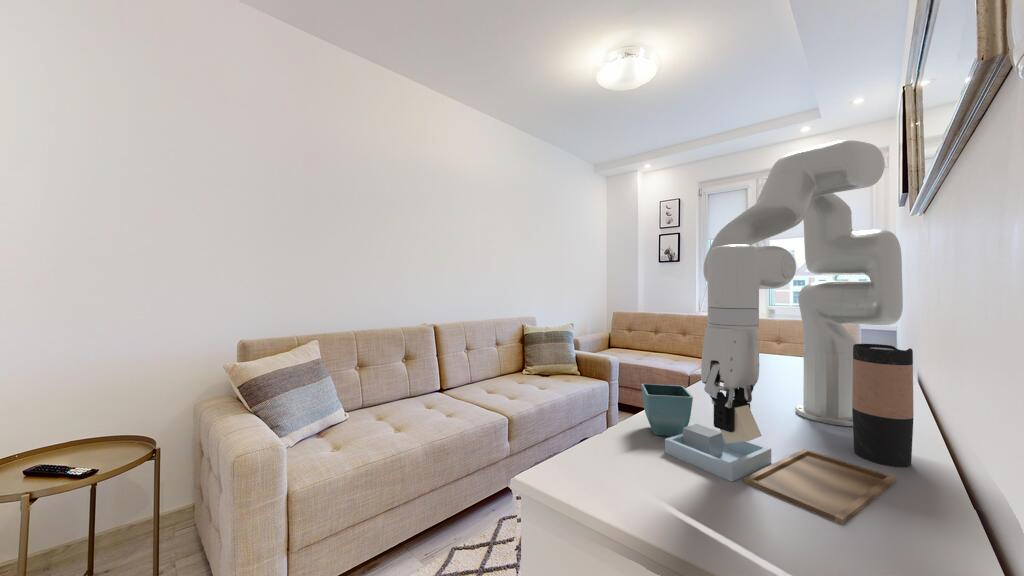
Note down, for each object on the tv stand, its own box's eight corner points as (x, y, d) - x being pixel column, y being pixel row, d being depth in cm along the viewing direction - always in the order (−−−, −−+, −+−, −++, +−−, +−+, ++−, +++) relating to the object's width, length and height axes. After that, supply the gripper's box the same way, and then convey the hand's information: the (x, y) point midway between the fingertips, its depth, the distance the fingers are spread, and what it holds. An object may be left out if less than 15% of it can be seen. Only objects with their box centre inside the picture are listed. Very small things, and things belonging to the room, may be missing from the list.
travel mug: (851, 461, 66) (851, 347, 66) (852, 447, 71) (852, 342, 71) (915, 476, 61) (916, 352, 60) (911, 460, 66) (911, 346, 66)
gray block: (696, 423, 72) (722, 432, 67) (696, 444, 72) (722, 454, 67) (683, 427, 69) (709, 437, 65) (683, 449, 70) (709, 460, 65)
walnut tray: (803, 455, 68) (803, 448, 68) (895, 485, 58) (895, 477, 58) (743, 485, 58) (744, 478, 58) (842, 528, 48) (842, 519, 48)
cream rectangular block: (739, 438, 65) (726, 409, 67) (761, 436, 62) (748, 404, 63) (725, 443, 63) (713, 412, 64) (748, 440, 60) (734, 408, 61)
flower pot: (693, 442, 74) (693, 396, 74) (646, 438, 76) (646, 394, 76) (683, 426, 83) (683, 385, 83) (640, 423, 84) (640, 383, 84)
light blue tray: (704, 441, 75) (704, 426, 75) (771, 466, 64) (771, 448, 64) (664, 455, 68) (664, 439, 68) (731, 485, 58) (731, 466, 58)
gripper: (737, 315, 71) (736, 412, 71) (681, 318, 63) (680, 429, 63) (781, 318, 65) (781, 424, 65) (726, 322, 56) (725, 445, 56)
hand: (731, 425), depth 64 cm, fingers closed on cream rectangular block, 4 cm apart
